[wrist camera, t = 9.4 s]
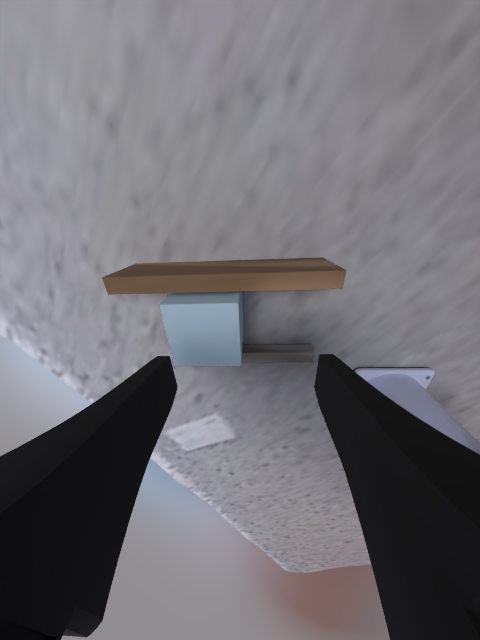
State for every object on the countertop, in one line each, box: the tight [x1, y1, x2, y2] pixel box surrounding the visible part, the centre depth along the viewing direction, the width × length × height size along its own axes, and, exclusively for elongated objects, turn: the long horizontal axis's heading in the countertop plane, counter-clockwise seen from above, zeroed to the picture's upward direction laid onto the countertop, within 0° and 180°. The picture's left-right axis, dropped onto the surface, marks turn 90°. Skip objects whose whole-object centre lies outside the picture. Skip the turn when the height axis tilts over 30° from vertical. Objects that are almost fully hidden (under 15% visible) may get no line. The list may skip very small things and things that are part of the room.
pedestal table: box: [102, 258, 346, 362], centre depth 17 cm, size 10×16×4 cm, turn 92°
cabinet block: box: [160, 291, 243, 366], centre depth 16 cm, size 6×5×6 cm
